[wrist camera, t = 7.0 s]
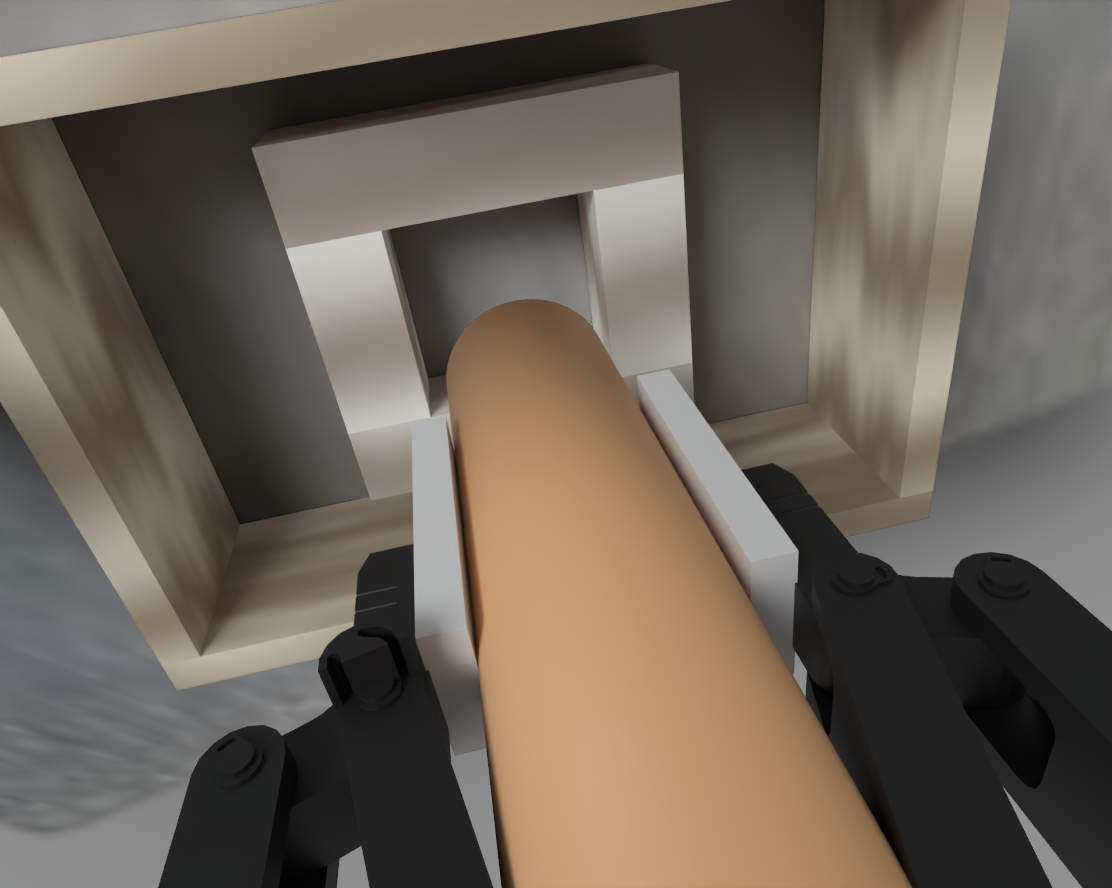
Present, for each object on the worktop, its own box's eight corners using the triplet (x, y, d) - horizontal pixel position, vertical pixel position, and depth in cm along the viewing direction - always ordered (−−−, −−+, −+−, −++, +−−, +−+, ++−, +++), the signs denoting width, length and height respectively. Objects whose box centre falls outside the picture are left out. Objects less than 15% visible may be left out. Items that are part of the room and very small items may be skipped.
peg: (429, 317, 19) (493, 1087, 6) (598, 284, 20) (1039, 939, 6) (464, 460, 22) (565, 1251, 8) (613, 429, 22) (956, 1138, 8)
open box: (-24, 60, 21) (-192, 89, 15) (866, -87, 23) (1029, -114, 17) (220, 554, 30) (177, 690, 25) (832, 421, 32) (928, 518, 26)
